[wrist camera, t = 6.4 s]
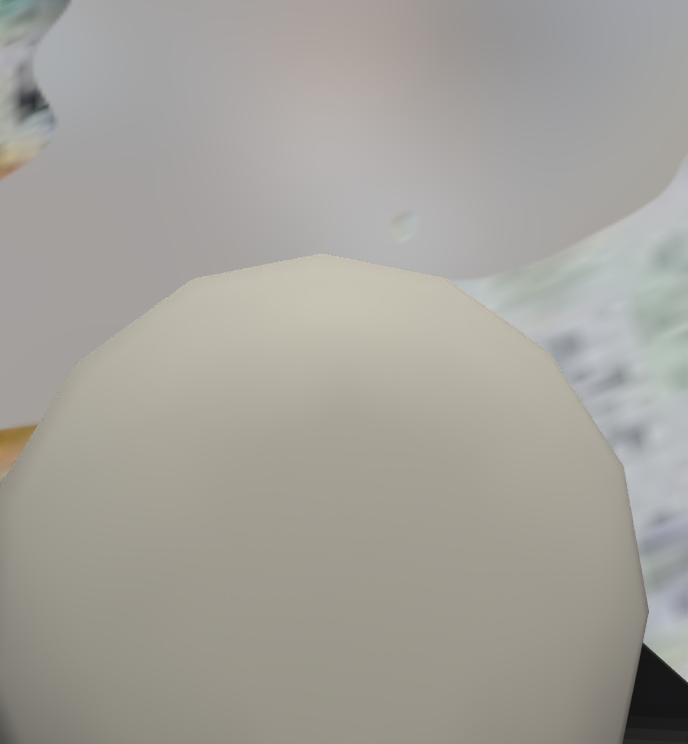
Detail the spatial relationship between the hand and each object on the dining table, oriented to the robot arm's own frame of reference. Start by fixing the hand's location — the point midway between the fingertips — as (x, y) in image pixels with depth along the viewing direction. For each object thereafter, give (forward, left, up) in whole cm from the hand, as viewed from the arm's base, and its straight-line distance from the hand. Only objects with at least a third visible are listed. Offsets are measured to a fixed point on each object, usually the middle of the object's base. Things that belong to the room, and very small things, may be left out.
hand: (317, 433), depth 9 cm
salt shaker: (-1, -1, -7) cm, 7 cm away
